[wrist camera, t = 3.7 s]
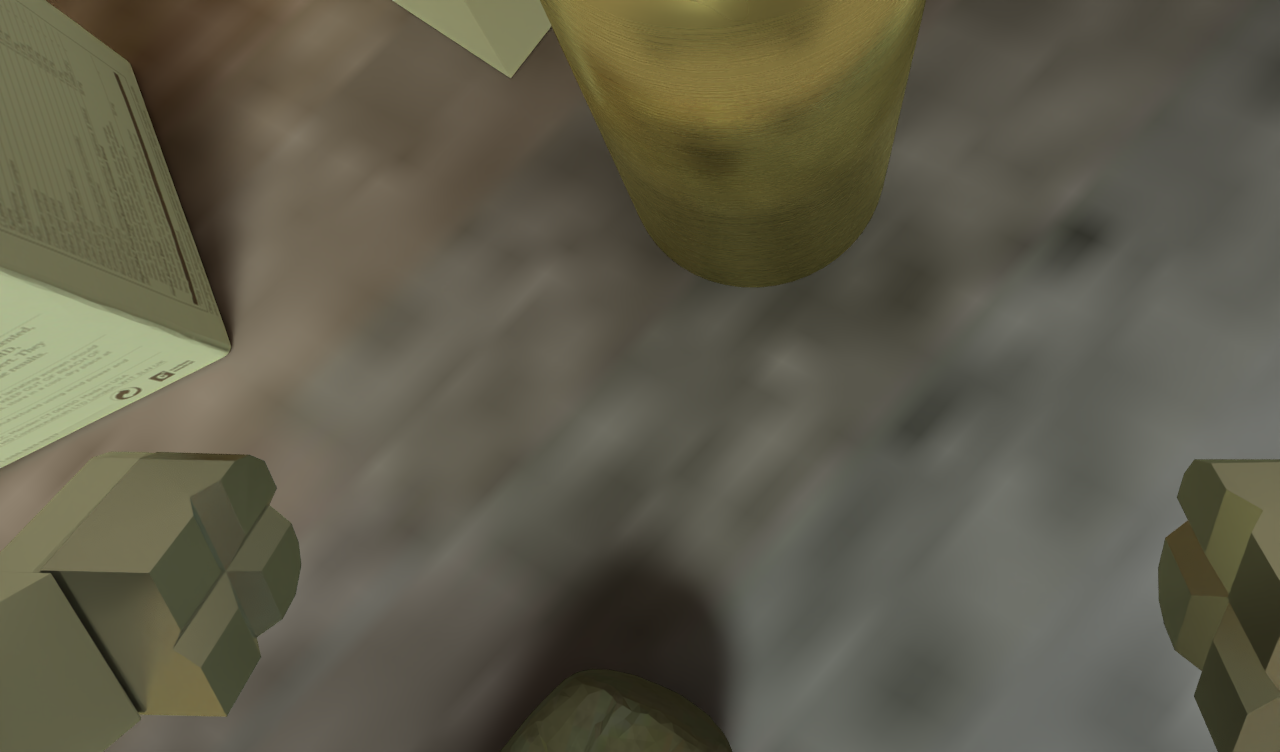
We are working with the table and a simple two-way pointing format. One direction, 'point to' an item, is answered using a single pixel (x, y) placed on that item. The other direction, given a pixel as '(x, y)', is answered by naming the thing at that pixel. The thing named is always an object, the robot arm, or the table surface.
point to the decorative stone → (616, 719)
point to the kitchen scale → (487, 27)
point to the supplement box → (86, 239)
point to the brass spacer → (745, 121)
